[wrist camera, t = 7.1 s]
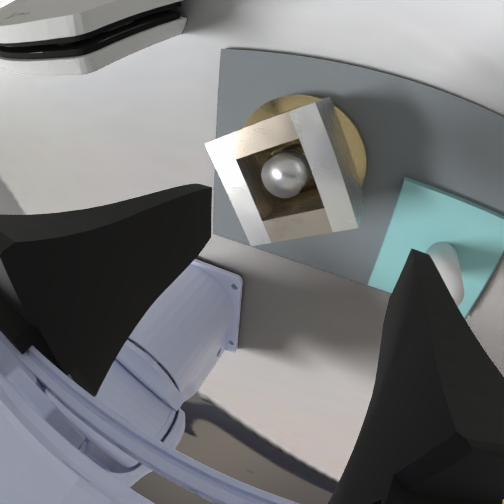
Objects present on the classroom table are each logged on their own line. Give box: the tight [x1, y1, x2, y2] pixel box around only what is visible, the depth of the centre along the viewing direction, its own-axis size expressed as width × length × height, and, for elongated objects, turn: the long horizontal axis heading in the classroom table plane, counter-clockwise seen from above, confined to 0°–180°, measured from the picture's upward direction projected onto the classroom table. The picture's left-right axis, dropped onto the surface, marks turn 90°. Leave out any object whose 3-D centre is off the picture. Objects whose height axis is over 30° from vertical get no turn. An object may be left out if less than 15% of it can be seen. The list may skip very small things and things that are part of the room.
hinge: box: [0, 0, 187, 76], centre depth 13 cm, size 17×5×10 cm, turn 72°
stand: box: [368, 177, 504, 318], centre depth 14 cm, size 7×7×4 cm
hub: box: [244, 94, 368, 198], centre depth 15 cm, size 7×7×4 cm
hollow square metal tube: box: [205, 97, 366, 246], centre depth 15 cm, size 6×6×3 cm
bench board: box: [213, 49, 504, 319], centre depth 16 cm, size 12×18×1 cm
